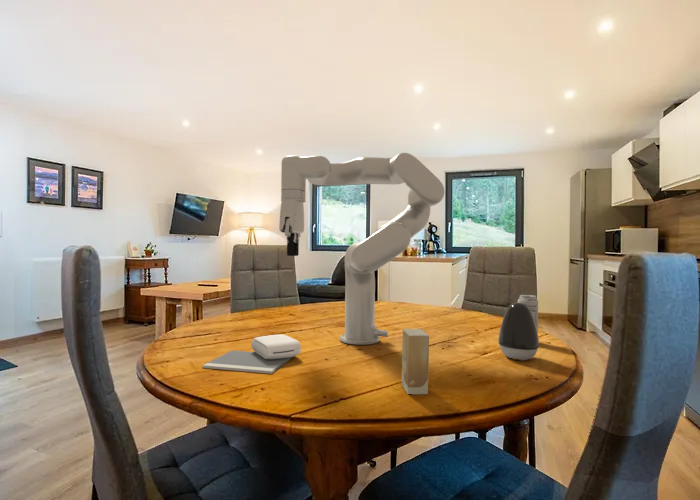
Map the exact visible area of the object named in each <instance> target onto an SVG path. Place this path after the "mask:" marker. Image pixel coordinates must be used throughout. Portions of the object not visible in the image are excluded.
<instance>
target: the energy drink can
mask: <svg viewBox="0 0 700 500" xmlns="http://www.w3.org/2000/svg"><path fill="white" fill-rule="evenodd" d="M517 303H523V304H526V305H527V307H528V308H529V310H530V311H531V313H532V315H533V318H534V321H535V325H536V328H537V333H538V334H539V331H538V330H539V300H538V299H537V296H536V295H532V294H519V297H518V299H517Z"/></svg>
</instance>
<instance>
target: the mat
mask: <svg viewBox="0 0 700 500" xmlns="http://www.w3.org/2000/svg"><path fill="white" fill-rule="evenodd" d="M291 359H293V357H289V358H283V359H273V360H269V359H265V358H263V357H262V356H260V355H259V354H257V353H256V352H254V351H244V350H230V351H228V352H226V353H224V354H222V355H220V356H218V357H216V358H214V359H212V360H210V361H208V362H206V363H204V364H202V369H211V370H223V371H224V370H225V371H226V370H227V371H236V372H248V373H261V374H269V375H270V374H271V375H272V374H274V372H276V371H277V370H279V369H280V368H281V367H282V366H283V365H285V364H286V363H288V361H290V360H291Z"/></svg>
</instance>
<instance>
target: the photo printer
mask: <svg viewBox="0 0 700 500" xmlns="http://www.w3.org/2000/svg"><path fill="white" fill-rule="evenodd" d="M251 348H252V350H253V351H252V352H256V353H257V354H259V355H260V356H262V357H263V358H265V359H269V360H273V359H283V358H289V357H292V358H294V357H295V356H298V355H300V354H301V352H302V349H301V348H302V346H301V343H300V341H299V340H297V339H295V338H293V337H291V336H289V335H287V334H271V335H270V334H269V335H262V336H257V337H253V339H252V340H251Z"/></svg>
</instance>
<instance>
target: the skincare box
mask: <svg viewBox="0 0 700 500" xmlns="http://www.w3.org/2000/svg"><path fill="white" fill-rule="evenodd" d="M401 346H402V350H401V351H402V353H401V357H402V358H401V385H402V387H403V389H404V390H405V392H406V394H407V395H408V394H412V395H428V394H429V365H430V363H429V357H430V356H429V355H430V335H429V334H428V333H426V331H424V330H423V329H422V328H402V345H401Z"/></svg>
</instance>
